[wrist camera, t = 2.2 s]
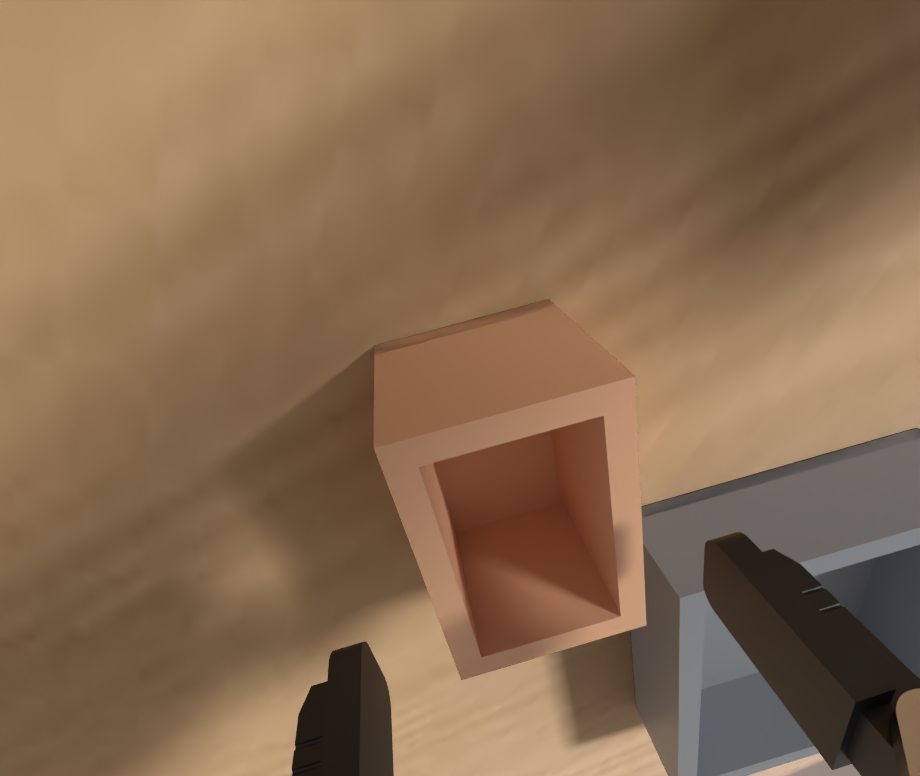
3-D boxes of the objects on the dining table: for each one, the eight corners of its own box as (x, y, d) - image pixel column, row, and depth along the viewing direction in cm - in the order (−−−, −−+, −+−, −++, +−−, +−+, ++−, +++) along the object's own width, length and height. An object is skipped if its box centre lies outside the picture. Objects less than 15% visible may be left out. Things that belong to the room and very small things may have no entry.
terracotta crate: (548, 299, 16) (635, 376, 11) (575, 499, 20) (646, 625, 15) (374, 346, 16) (373, 448, 10) (438, 538, 20) (461, 679, 15)
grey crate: (917, 427, 21) (1040, 492, 17) (853, 640, 29) (928, 718, 25) (622, 512, 21) (679, 598, 17) (636, 706, 28) (677, 796, 25)
